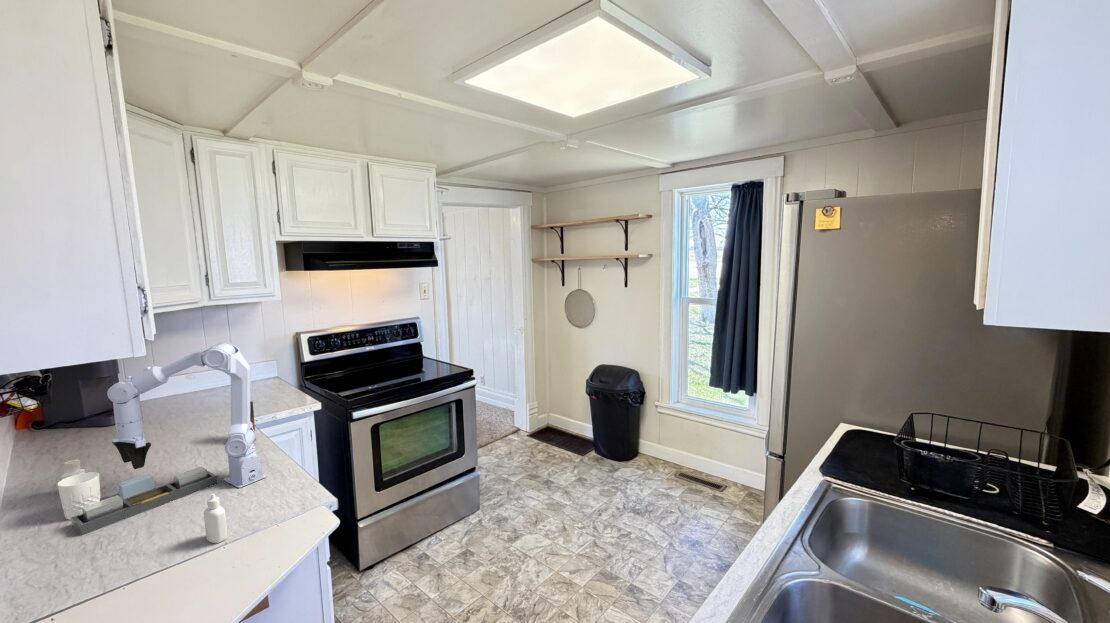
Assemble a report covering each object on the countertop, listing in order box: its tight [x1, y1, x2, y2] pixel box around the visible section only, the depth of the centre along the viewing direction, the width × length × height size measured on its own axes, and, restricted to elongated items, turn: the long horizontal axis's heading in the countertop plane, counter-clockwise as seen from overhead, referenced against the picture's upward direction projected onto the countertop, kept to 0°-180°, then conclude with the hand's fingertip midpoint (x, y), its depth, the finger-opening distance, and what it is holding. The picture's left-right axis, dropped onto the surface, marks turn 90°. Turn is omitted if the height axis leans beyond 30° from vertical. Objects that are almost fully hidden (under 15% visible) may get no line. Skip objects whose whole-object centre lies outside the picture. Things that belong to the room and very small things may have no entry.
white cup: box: [56, 471, 101, 521], centre depth 123 cm, size 8×8×10 cm
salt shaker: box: [60, 458, 86, 481], centre depth 134 cm, size 4×4×10 cm
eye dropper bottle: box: [203, 493, 228, 544], centre depth 113 cm, size 4×6×12 cm
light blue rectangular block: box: [117, 473, 155, 499], centre depth 133 cm, size 4×7×4 cm, turn 149°
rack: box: [70, 466, 219, 536], centre depth 128 cm, size 7×30×5 cm, turn 150°
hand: (133, 464), depth 132 cm, fingers open, 7 cm apart
